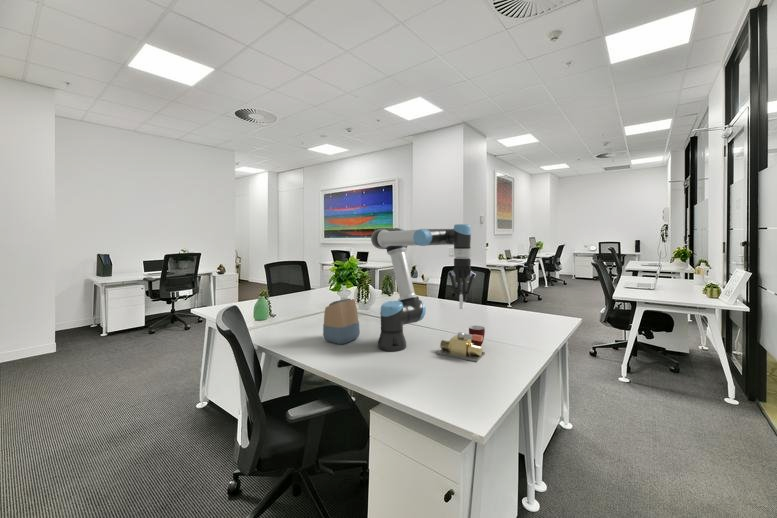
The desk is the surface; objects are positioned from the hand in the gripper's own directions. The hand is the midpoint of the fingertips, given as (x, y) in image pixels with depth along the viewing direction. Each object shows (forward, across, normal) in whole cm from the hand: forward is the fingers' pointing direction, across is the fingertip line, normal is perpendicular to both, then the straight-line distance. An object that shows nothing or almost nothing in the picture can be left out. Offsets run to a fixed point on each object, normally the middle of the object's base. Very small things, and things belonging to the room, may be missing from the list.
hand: (462, 308), depth 158 cm
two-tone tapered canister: (+25, -69, -6) cm, 73 cm away
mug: (+25, 0, +20) cm, 32 cm away
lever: (+16, +1, +6) cm, 18 cm away
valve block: (+24, -3, +6) cm, 25 cm away
